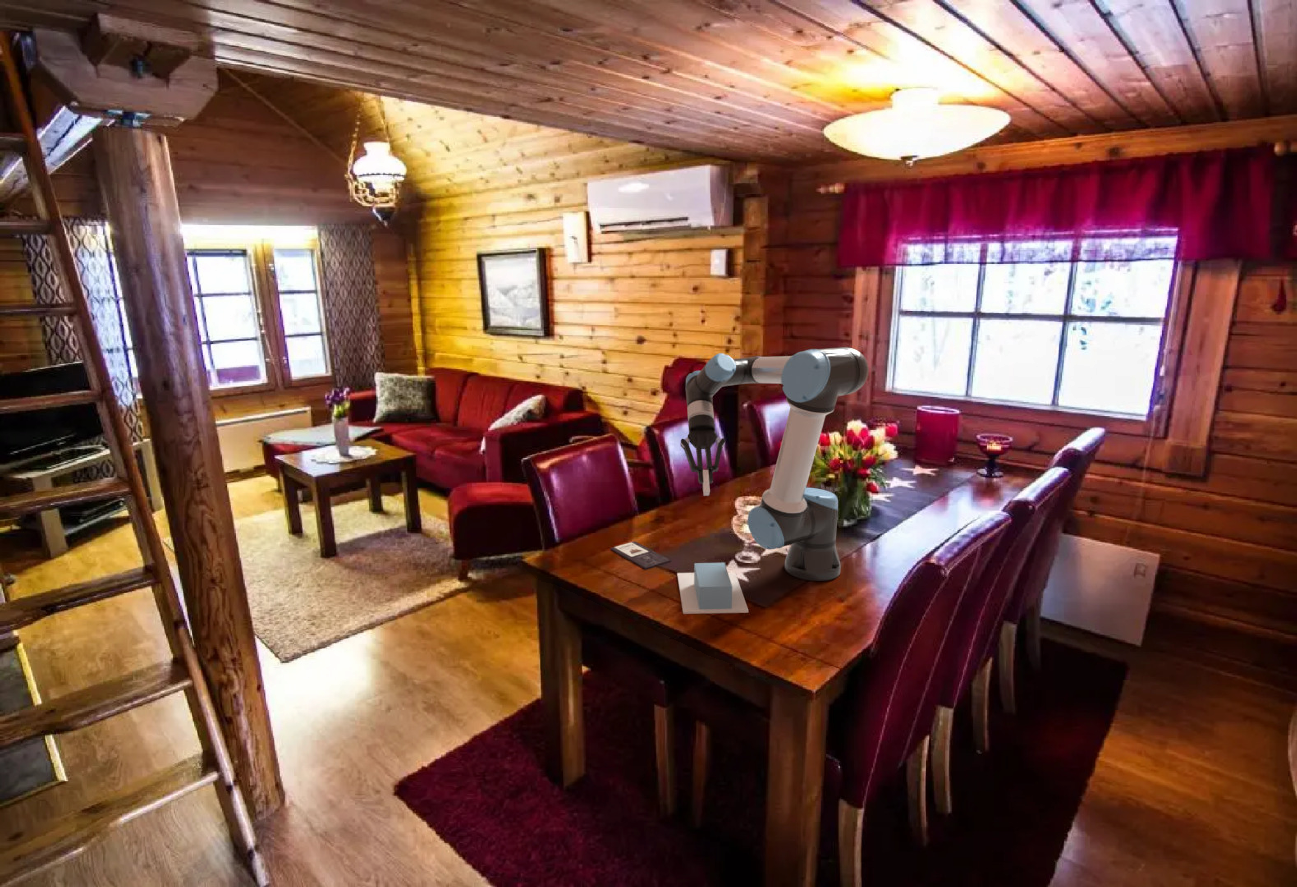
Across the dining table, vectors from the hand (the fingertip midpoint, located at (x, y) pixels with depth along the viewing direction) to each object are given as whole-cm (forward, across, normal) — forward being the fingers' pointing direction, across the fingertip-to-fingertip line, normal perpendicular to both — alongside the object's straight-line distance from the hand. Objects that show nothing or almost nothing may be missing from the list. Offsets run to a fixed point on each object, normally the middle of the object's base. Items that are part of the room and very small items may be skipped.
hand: (706, 493), depth 184 cm
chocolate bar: (+8, +18, -25) cm, 32 cm away
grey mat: (+25, 0, -7) cm, 26 cm away
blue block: (+20, 0, -7) cm, 21 cm away
